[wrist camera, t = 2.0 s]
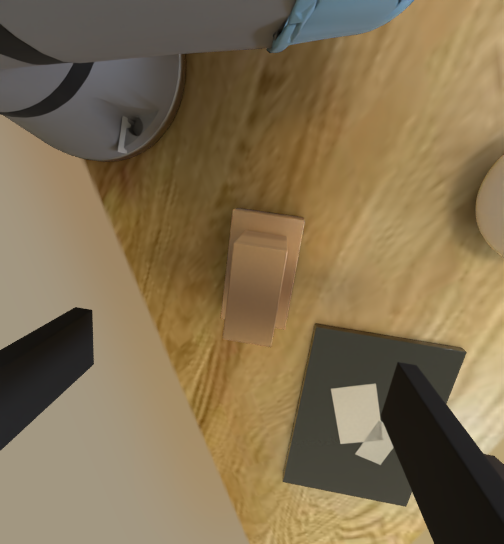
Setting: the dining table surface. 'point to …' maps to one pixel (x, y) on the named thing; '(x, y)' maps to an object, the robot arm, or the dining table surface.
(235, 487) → the dining table surface
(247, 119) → the dining table surface
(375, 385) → the slate board
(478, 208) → the trinket box
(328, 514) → the dining table surface
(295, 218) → the wooden stepped block
